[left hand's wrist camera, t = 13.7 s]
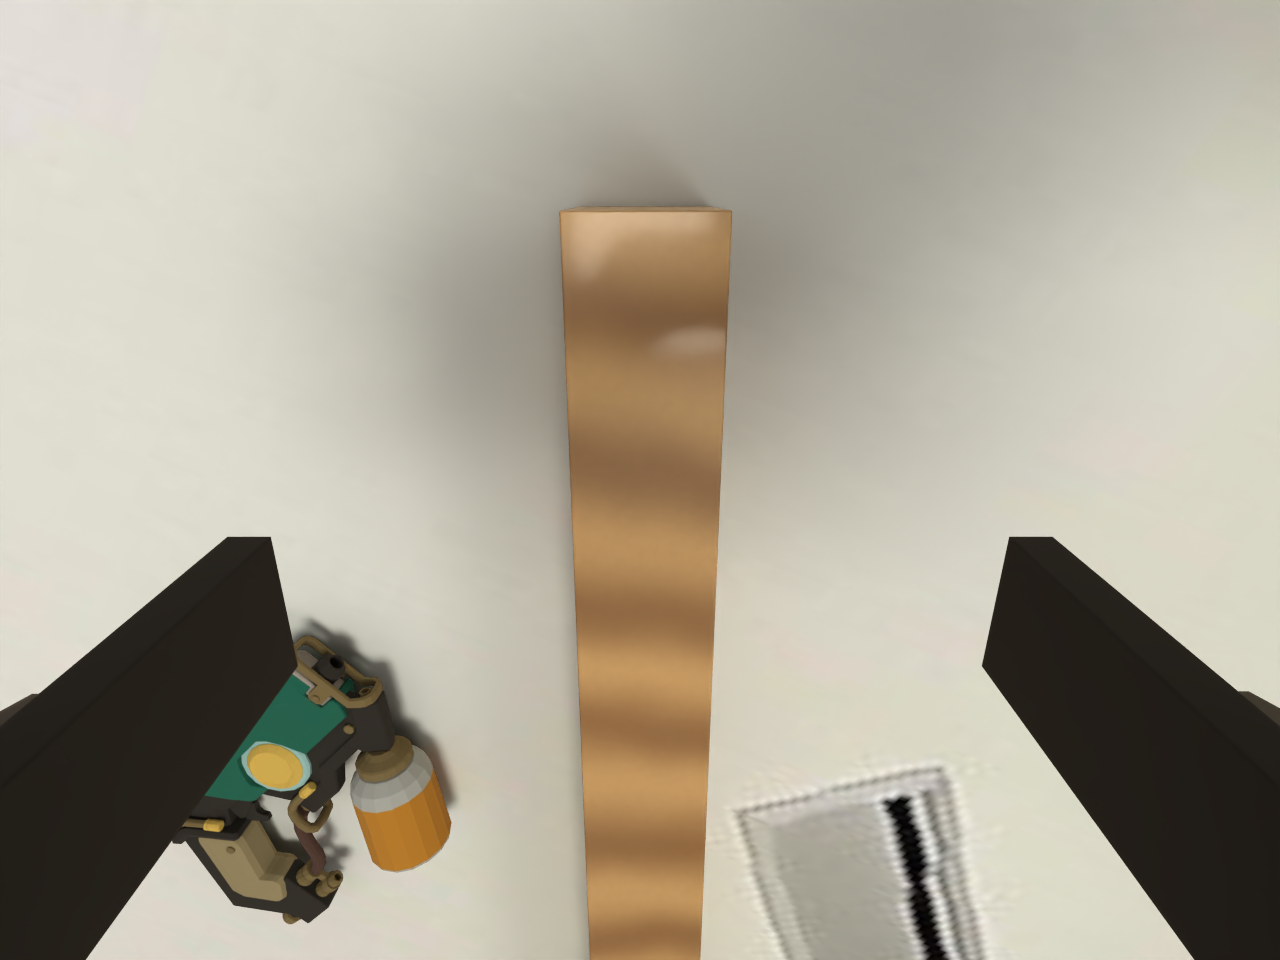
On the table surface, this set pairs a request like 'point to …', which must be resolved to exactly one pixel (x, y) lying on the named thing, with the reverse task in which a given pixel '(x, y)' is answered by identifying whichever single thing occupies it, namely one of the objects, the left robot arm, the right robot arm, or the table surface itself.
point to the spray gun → (316, 791)
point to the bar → (645, 555)
